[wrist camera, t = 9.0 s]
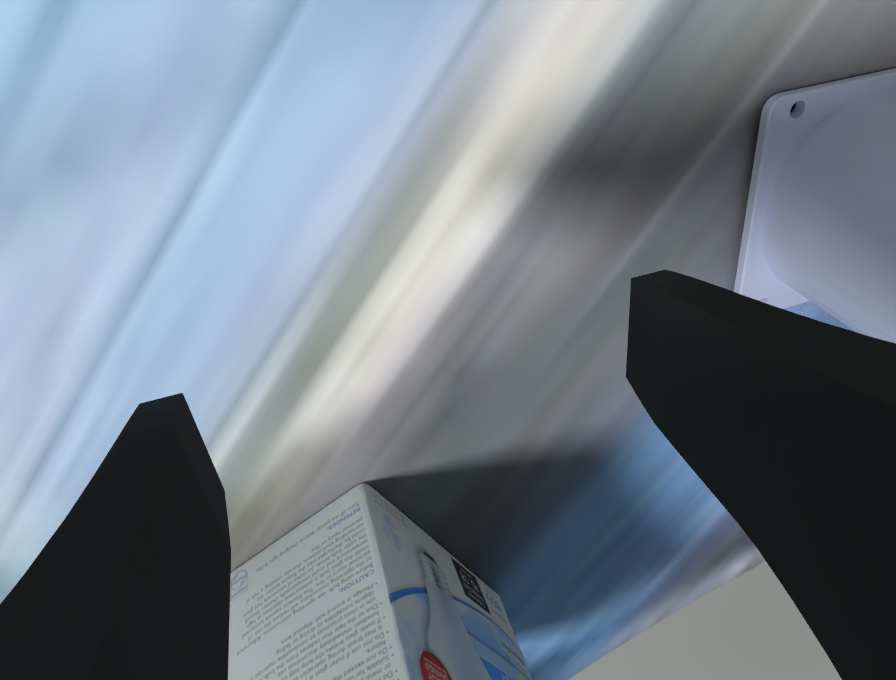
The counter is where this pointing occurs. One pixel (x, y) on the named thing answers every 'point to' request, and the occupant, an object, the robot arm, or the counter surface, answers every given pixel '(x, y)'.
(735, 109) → the counter surface
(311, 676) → the light bulb box
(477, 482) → the counter surface
